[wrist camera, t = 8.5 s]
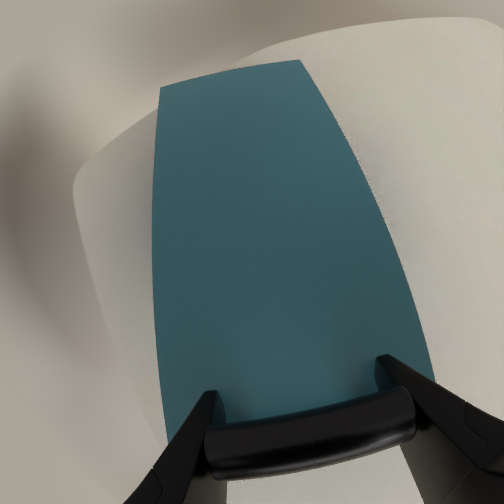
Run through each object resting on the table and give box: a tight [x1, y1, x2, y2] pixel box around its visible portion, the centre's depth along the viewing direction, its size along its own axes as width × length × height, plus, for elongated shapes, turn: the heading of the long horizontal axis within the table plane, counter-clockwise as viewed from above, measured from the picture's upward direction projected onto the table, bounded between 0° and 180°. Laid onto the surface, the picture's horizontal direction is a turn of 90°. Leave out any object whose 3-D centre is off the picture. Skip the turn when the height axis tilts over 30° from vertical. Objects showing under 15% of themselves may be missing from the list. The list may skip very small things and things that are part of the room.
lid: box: [152, 60, 436, 482], centre depth 12 cm, size 21×9×4 cm, turn 10°
